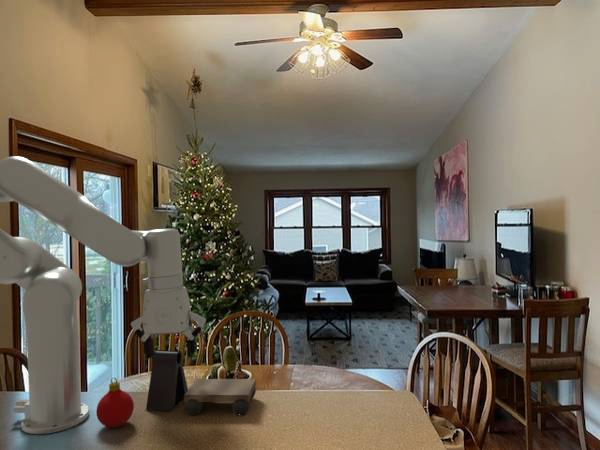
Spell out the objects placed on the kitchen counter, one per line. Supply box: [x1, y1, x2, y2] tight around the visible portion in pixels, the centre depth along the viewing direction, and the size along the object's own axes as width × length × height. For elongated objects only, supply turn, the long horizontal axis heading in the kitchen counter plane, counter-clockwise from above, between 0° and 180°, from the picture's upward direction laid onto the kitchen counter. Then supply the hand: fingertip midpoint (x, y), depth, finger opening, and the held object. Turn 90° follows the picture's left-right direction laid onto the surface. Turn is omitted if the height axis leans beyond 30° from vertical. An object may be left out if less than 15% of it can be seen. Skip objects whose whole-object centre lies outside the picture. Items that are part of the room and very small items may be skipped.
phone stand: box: [145, 349, 189, 412], centre depth 100 cm, size 9×6×12 cm, turn 168°
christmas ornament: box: [96, 377, 135, 429], centre depth 90 cm, size 7×7×10 cm
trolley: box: [183, 378, 257, 416], centre depth 98 cm, size 14×9×4 cm, turn 87°
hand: (170, 356), depth 100 cm, fingers open, 9 cm apart
